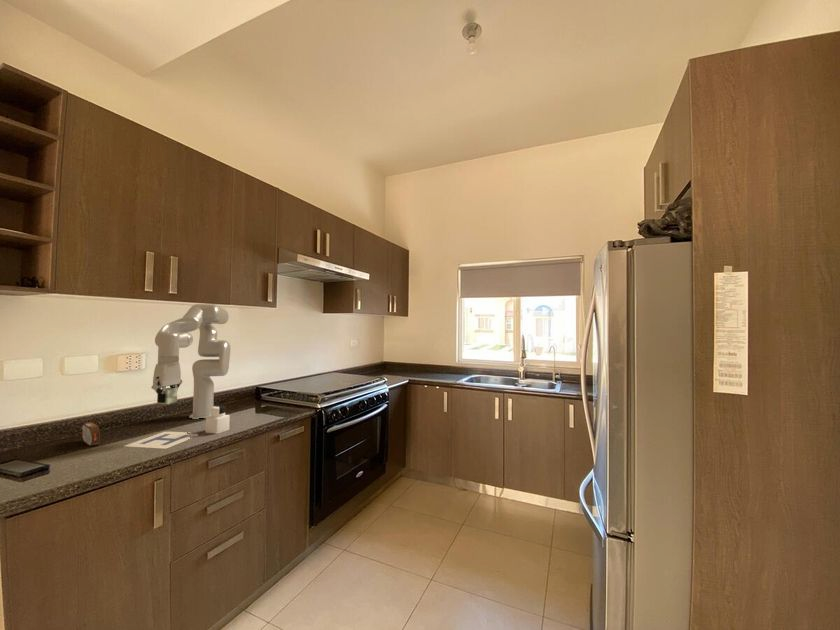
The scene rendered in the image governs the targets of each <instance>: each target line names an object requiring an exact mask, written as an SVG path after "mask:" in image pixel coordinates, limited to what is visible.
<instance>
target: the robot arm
mask: <svg viewBox="0 0 840 630" xmlns="http://www.w3.org/2000/svg"><path fill="white" fill-rule="evenodd" d="M229 319H230V317H229V312H228V311H227V310H226V309H225V308H223V307H222V306H220V305H217V304H207V303H206V304H203V303H199V304H194V305H191V307H190V308H189V309H188V310H187V311H186V313H185V314H184V315H183V316H182V318H178V319H175V320H174V321H171V322H169V323H167V324H165V325H163V326H162V327H161V328H160V329H159V330H158V332H157V334H156V335H155V337H154V343H155V345H156V346H157V363H156V364H155V365H154V370H153V377H152V384H151V385H152V386H151V390H152V389H153V390H154V391H155V393H156V394H158V403H165V394H166V393H164V392H165V388H167V387H169V388H177V391H178V390H179V387H180V386H181V385H182V384H183V380H182V378H181V377H182V376H181V375H182V373H181V372H182V371H181V365H180V356H179V355H180V349H181V348H182V349H183V348H184V349H185V348H188V347H189V346H191V345H192V343H193V342H194V337H193V335H192V334H191V333H190V332H194V331H196V330H199V339H198V345H197V346H198V347H197V354H198V356H199V357H202V358H207V359H198V360H197V359H196V361H194V362H193V364H192V365H191V370H192V371H191V372H192V376H193V377H192V378H193V396H192V397H193V399H192V413H191V414H190V415H189V419H190V418H192V420H200V419H199V418H204V419H206V418H207V417H210V416H211V408H212V407H213V406H214V397H215V395H214V393H215V390H214V389H215V384H214V381H213V379H212V378H211V377H225V376H226V375H227V374H228V372H229V367H230V361H231V360H230V358H231V345H230V342H229V341H227V340H219V339H218V331H217V329H216V328H215V327H214V325H224V324H226V323H228V321H229ZM208 358H211V359H208ZM213 358H214V359H213ZM215 358H218V359H215ZM161 389H162V390H161Z"/></svg>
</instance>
